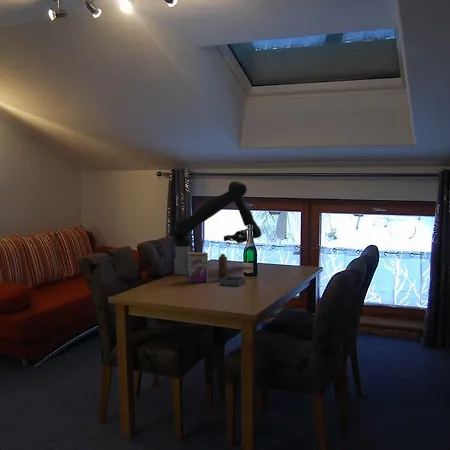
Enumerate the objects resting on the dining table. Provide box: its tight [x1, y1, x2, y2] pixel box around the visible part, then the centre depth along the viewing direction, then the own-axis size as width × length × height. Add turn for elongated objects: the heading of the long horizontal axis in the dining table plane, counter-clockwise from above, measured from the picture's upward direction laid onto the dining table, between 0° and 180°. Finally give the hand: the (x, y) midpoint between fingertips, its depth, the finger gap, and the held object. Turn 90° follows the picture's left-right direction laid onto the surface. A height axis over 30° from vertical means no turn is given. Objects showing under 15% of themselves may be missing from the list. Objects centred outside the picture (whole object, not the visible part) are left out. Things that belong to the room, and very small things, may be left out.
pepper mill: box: [218, 253, 228, 281], centre depth 297 cm, size 5×5×15 cm
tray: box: [219, 275, 247, 287], centre depth 286 cm, size 11×10×3 cm
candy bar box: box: [187, 251, 209, 283], centre depth 293 cm, size 11×5×16 cm, turn 84°
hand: (230, 239), depth 306 cm, fingers open, 8 cm apart
